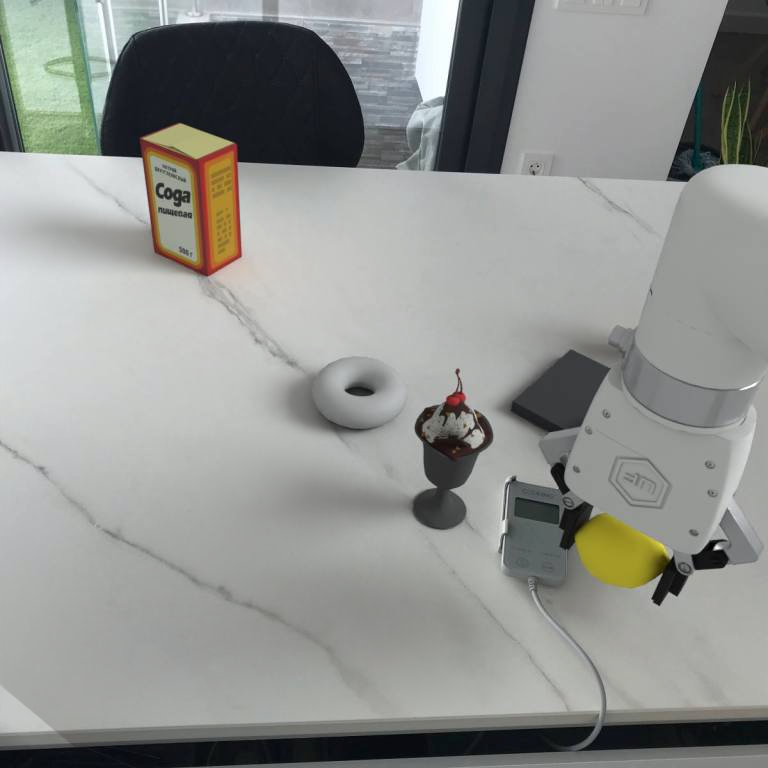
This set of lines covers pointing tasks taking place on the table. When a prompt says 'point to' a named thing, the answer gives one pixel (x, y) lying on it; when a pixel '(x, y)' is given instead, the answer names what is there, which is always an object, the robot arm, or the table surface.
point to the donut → (359, 408)
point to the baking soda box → (193, 197)
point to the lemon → (619, 552)
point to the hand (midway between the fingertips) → (616, 563)
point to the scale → (562, 393)
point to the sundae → (449, 456)
